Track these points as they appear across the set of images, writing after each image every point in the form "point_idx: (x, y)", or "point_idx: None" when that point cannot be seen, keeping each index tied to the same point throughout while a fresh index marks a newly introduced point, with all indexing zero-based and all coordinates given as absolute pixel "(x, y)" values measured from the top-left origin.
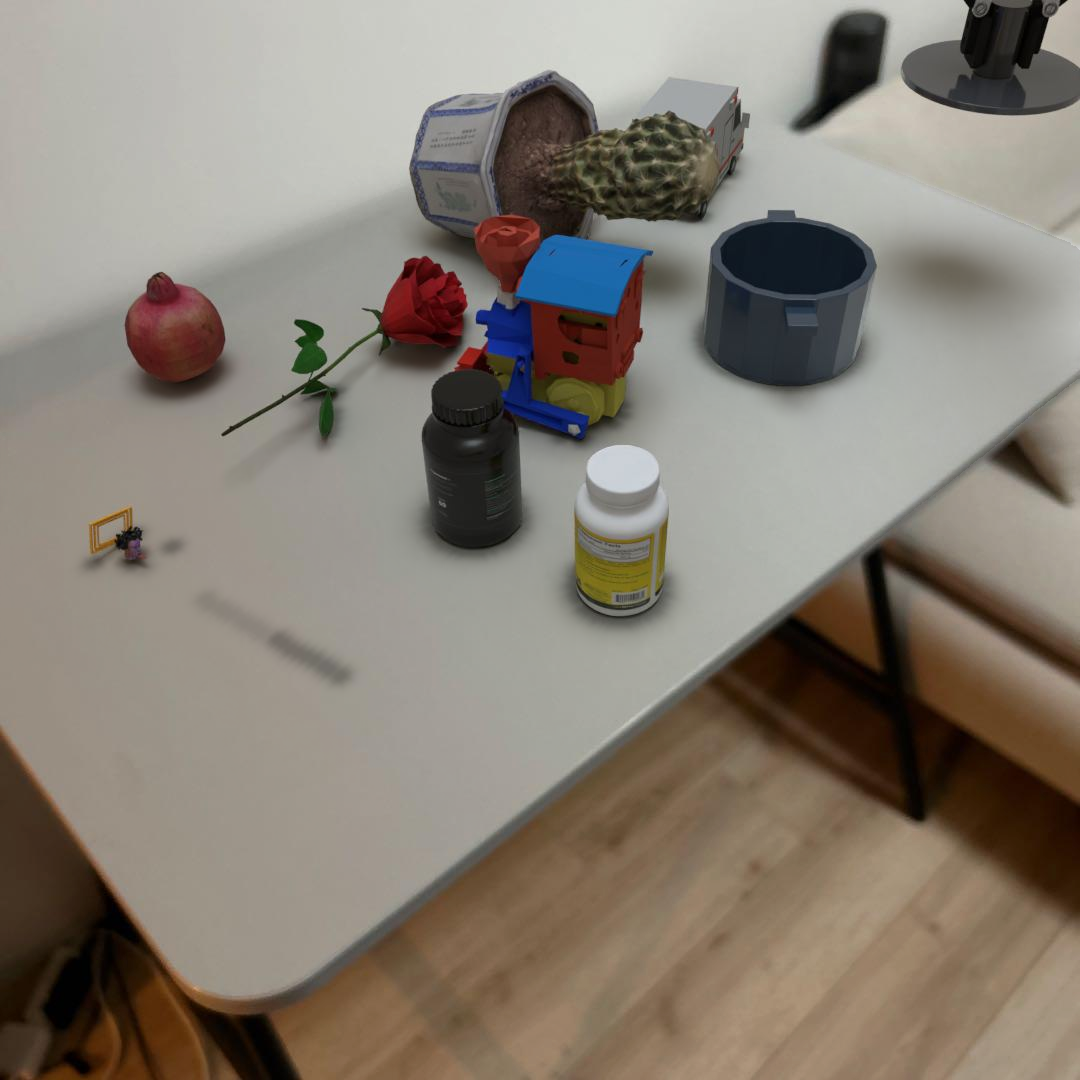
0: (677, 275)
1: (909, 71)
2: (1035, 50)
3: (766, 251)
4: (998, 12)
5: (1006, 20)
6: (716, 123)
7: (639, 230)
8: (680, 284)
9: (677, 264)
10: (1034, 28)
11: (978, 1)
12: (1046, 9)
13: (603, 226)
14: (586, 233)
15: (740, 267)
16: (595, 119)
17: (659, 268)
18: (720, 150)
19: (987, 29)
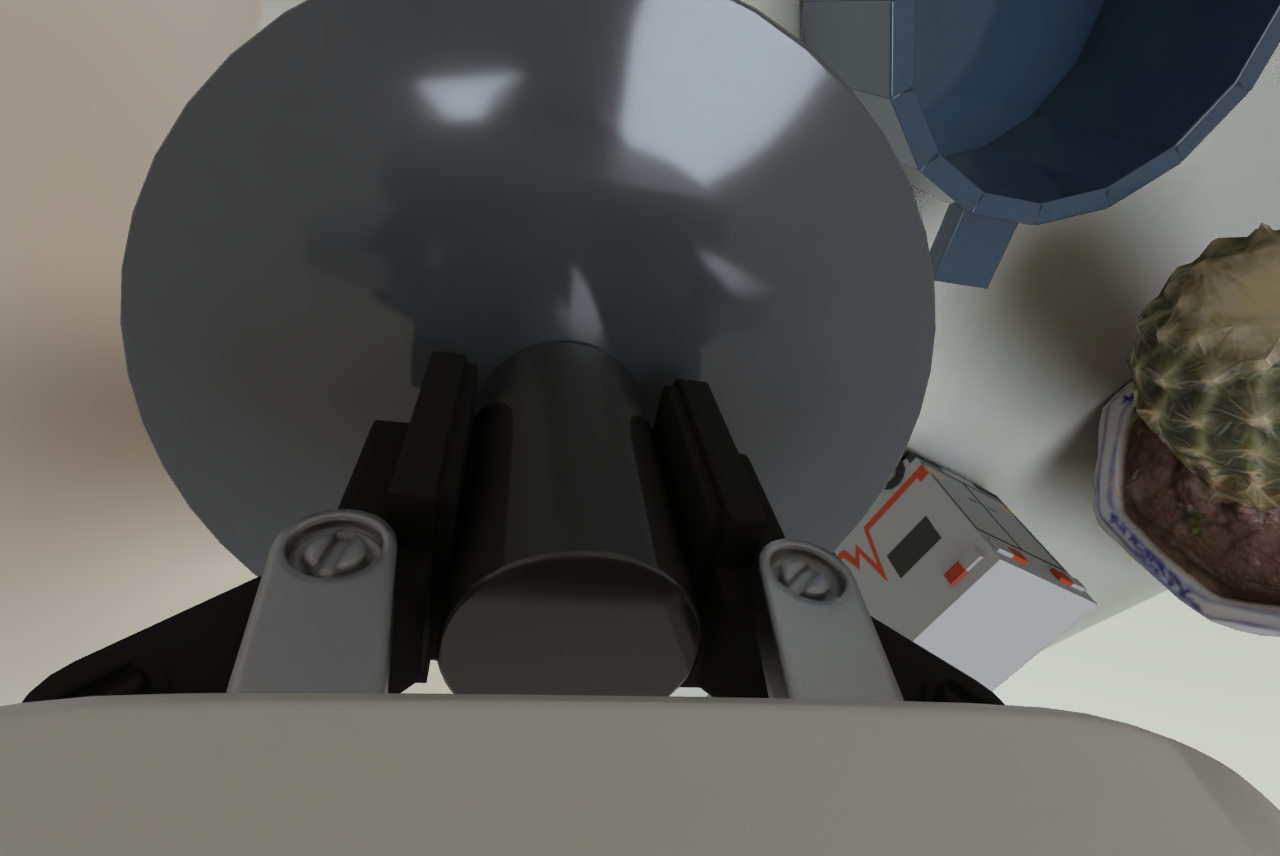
0: (1015, 285)
1: (882, 450)
2: (397, 423)
3: (1000, 182)
4: (680, 561)
5: (629, 507)
6: (928, 602)
7: (999, 433)
8: (1027, 254)
9: (996, 322)
10: (441, 459)
11: (853, 608)
12: (363, 551)
13: (1045, 448)
14: (1107, 414)
15: (1047, 159)
16: (1184, 593)
17: (1032, 312)
18: (862, 581)
19: (720, 480)
